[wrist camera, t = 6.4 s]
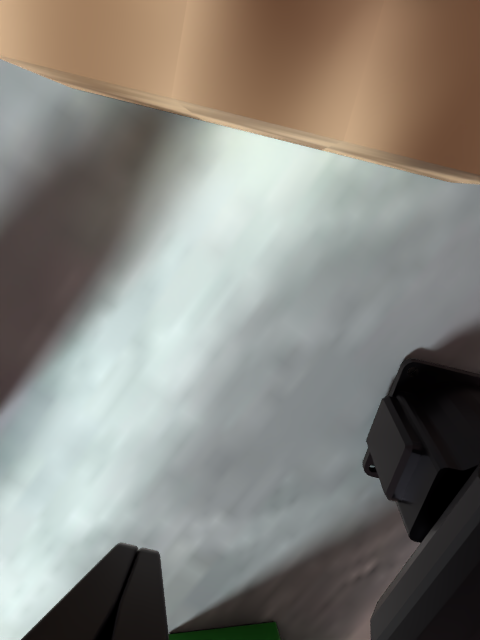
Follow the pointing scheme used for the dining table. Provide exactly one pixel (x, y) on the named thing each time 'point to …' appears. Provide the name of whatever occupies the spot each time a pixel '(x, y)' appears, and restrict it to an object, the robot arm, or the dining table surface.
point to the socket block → (278, 69)
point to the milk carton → (233, 633)
